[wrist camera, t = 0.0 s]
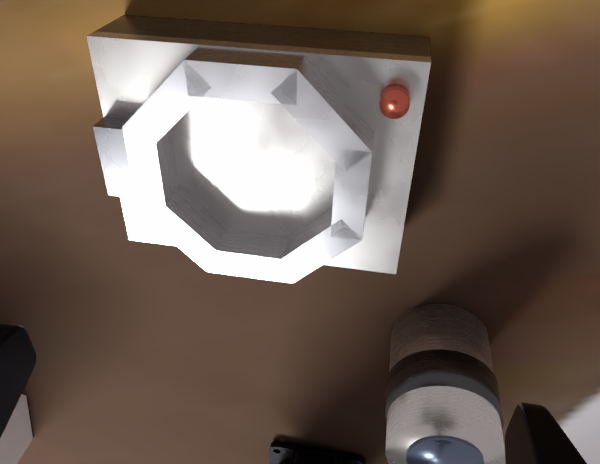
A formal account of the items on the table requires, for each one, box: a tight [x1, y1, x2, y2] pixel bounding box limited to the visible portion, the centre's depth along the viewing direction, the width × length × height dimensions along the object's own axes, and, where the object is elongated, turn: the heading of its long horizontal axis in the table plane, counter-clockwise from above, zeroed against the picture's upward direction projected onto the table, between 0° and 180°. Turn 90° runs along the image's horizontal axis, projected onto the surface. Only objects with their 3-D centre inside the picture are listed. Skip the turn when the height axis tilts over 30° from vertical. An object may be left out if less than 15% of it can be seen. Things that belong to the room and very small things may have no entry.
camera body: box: [87, 15, 431, 283], centre depth 21 cm, size 9×12×4 cm
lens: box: [385, 303, 505, 464], centre depth 25 cm, size 5×5×7 cm
